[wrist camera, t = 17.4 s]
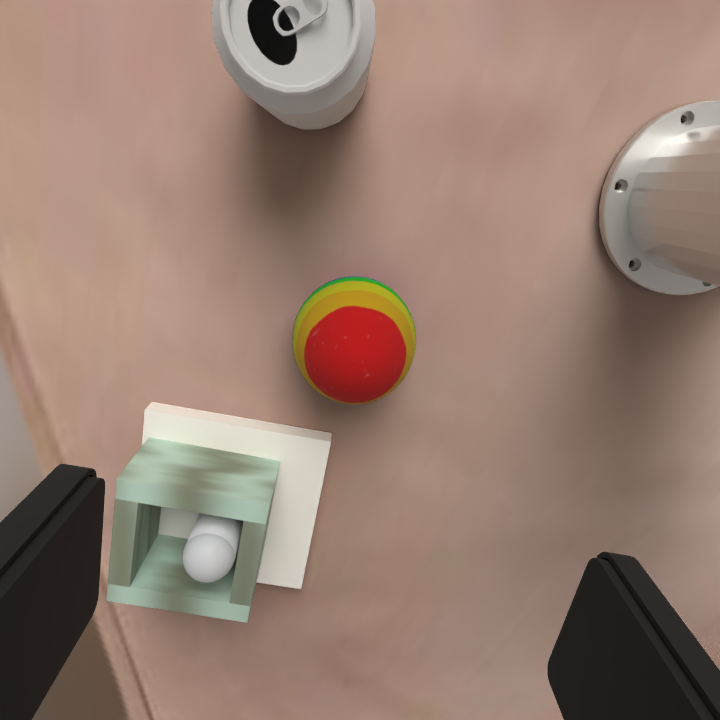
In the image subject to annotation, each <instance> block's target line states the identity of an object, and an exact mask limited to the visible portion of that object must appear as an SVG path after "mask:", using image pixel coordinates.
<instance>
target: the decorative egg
mask: <svg viewBox="0 0 720 720" xmlns="http://www.w3.org/2000/svg"><path fill="white" fill-rule="evenodd" d="M292 339H293V351H294V356H295V359H296V363H297V365H298V367H299V369H300V372H301V373H302V375H303V376H304V378H305V379H306V381H307V382H308V383H309V384H310V385H311V386H312V387H313V388H314V389H315V390H316V391H317V392H319V393H320V394H322V395H323V396H325V397H327V398H329V399H331V400H334V401H336V402H339V403H344V404H364V403H369V402H373V401H375V400H378V399H380V398H382V397H384V396H385V395H387V394H388V393H390V392H391V391H393V390H394V389H395V388H396V387H397V386H398V385H399V384H400V383H401V381H402V380H403V379H404V377H405V376H406V374H407V372H408V371H409V368H410V366H411V364H412V361H413V358H414V354H415V346H416V333H415V326H414V323H413V320H412V317H411V314H410V312H409V310H408V308H407V306H406V305H405V303H404V302H403V301H402V299H401V298H400V297H399V296H398V295H397V294H396V293H395V292H394V291H393V290H392V289H390V288H389V287H387V286H386V285H384V284H382V283H380V282H378V281H376V280H373V279H369V278H365V277H344V278H339V279H335V280H333V281H330V282H328V283H326V284H324V285H323V286H321V287H320V288H318V289H317V290H316V291H314V292H313V293H312V294H311V295H310V296H309V297H308V298H307V300H306V301H305V302H304V304H303V305H302V307H301V309H300V311H299V313H298V315H297V318H296V321H295V324H294V329H293V338H292Z"/></svg>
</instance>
